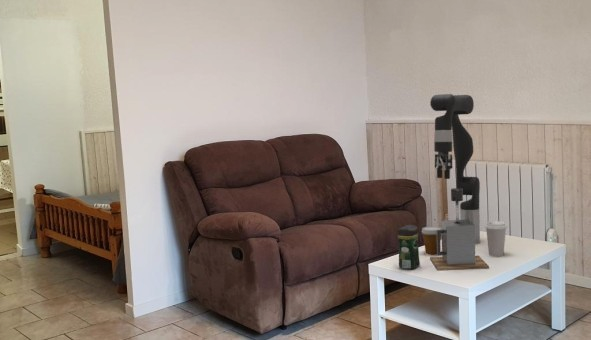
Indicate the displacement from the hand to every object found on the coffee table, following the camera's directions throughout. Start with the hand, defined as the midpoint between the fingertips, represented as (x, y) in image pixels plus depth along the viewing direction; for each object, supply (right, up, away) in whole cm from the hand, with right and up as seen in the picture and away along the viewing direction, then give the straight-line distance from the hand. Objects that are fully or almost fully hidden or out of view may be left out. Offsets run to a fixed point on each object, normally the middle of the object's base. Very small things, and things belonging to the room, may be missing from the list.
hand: (443, 178), depth 266 cm
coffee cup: (+29, -36, +18) cm, 49 cm away
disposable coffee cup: (+1, -36, +27) cm, 45 cm away
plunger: (+8, -24, +5) cm, 26 cm away
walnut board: (+8, -38, +7) cm, 39 cm away
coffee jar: (-14, -39, +6) cm, 42 cm away
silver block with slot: (+7, -37, +7) cm, 38 cm away
